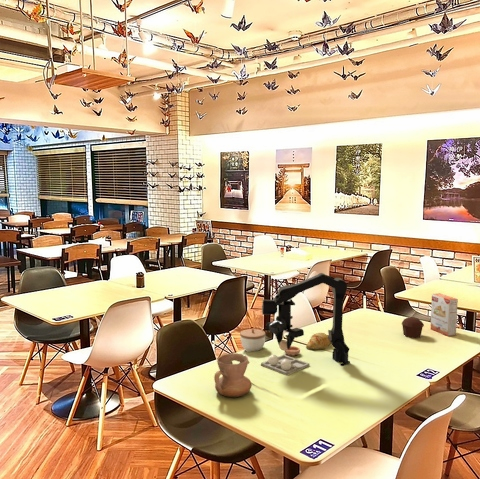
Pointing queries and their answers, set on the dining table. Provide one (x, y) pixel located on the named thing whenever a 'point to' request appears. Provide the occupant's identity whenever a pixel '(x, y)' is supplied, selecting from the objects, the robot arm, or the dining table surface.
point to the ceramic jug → (232, 375)
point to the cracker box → (444, 314)
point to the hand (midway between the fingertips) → (284, 347)
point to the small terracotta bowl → (292, 351)
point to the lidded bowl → (252, 339)
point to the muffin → (412, 327)
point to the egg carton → (295, 365)
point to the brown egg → (283, 345)
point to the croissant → (318, 341)
